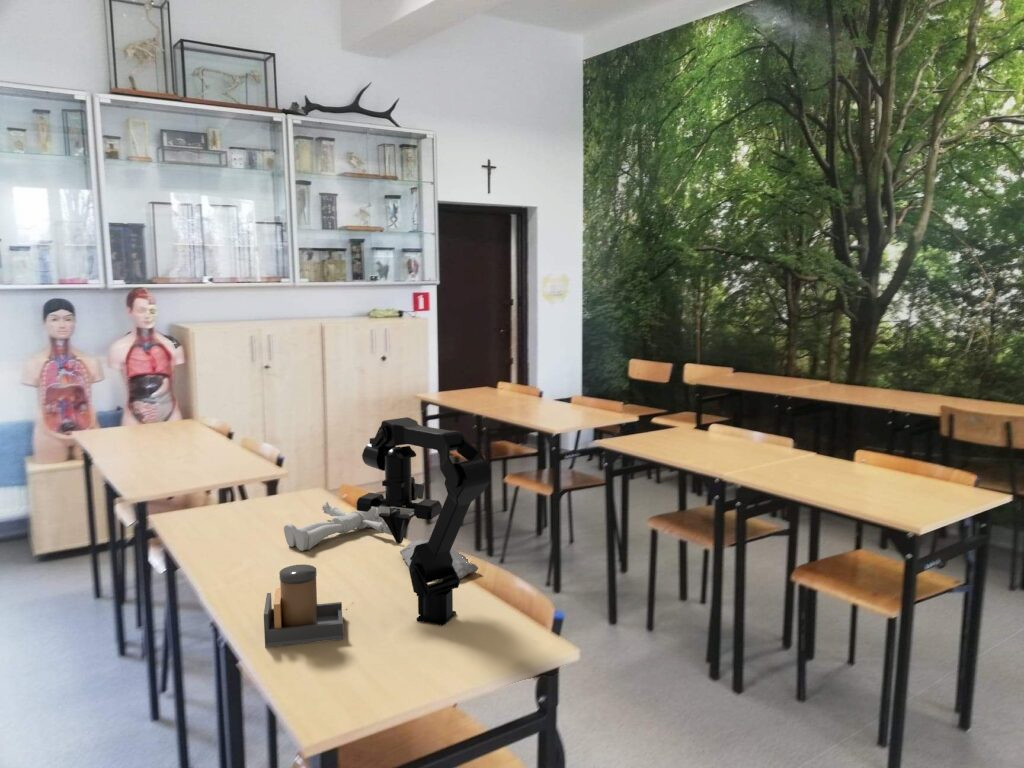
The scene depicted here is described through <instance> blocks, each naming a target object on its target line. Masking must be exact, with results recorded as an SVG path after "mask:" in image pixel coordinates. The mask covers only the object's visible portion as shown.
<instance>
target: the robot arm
mask: <svg viewBox="0 0 1024 768" xmlns="http://www.w3.org/2000/svg"><path fill="white" fill-rule="evenodd" d="M403 445H404V446H403ZM410 445H411V446H415V447H420V448H425V449H430V450H435V451H437V453H438V454H439V469H440V471H441V473H442V474H443V477H444V478H445V481H444V487H445V490H446V492H447V495H446V498H445V501H444V502H443V505H442V503H441V502H440V500H435V499H427V498H426V499H425V498H424V493H425V485H424V484H419V483H416V481H415V480H416V479H415V477H414V476H412V458H415V457H416V456H417V453H416V452H415V450H413V448H411V446H410ZM454 451H456V452H457V453H458V454H459V455H460V456H462V457H463V458H464V459H465V460H463V461H459V462H454V463H453V462H452V460H451V457H450V452H454ZM361 458H362V461H363V463H364V464H365V465H366V466H368V467H371V468H374V469H376V470H380V471H383V472H384V480H382V481H381V482H382V483H381V487H385V493H384V494H383V493H375V492H368V493H365V494H364V495H361V496H360V497H358V498H357V500H356V503H355V504H356V505H355V507H356V508H355V509H356V510H355V511H356V512H357V511H364V512H368V511H369V510H370V509H371V506H372V507H380V508H381V513H380V514H379V517H382V518H383V520H384V521H385V524H386V525H387V526H388V527H389V529H390V531H391V533H392V535H391V536H392V537H393V540H395V542H396V544H402V543H403V541H404V538H405V536H406V532H407V529H408V526H409V525H410V522H411V520H412V519H413V518H414V517H415V518H416V519H419V520H420V519H421V520H433V519H434V518H436V517H437V520H436V523H434V527H433V530H432V531H431V535H430V537H429V540H427V541H428V542H427V543H423V544H419V545H416V547H415V548H414V552H413V555H412V557H410V560H412V561H411V563H410V568H409V569H408V570H409V571H408V572H409V576H410V580H411V586H412V589H413V593H415V594H416V597H417V614H418V616H417V617H416V618H415V619H416V622H421V623H427V624H432V625H436V626H445V625H446V624H447V623H448V622H449V621H451V619H452V618H454V617H455V616H456V615H457V611H455V610H453V608H454V607H453V605H454V604H453V603H454V601H453V600H454V597H453V592H454V591H453V589H458V588H459V587H460V583H461V579H459V577H458V575H457V573H456V571H455V569H454V567H453V565H452V562H453V558H452V556H451V553H450V550H451V549H453V548H452V547H453V545H454V544H455V540H456V538H457V536H458V533H459V531H460V529H461V527H462V525H463V522H464V519H465V517H466V515H467V513H468V510H469V508H470V506H471V503H472V502H473V501H474V500H475V499H477V498H478V497H479V496H480V495H482V494H483V493H484V492H485V490H486V488H487V487H488V486H489V484H490V482H491V479H492V471H491V468H490V465H489V464H488V462H487V461H486V459H485V458H484V455H483V454H482V452H481V451H480V449H478V448H477V447H475V446H474V445H472V444H471V443H469V442H468V441H467V439H466V438H465V437H464V434H463V433H462V432H461V431H459V430H447V429H443V428H437V427H432V426H431V427H430V426H424V425H421V424H419V423H418V421H417V420H416V419H414V418H411V417H408V416H406V417H399V418H392V419H385V420H382V421H381V423H380V426H379V428H378V430H377V431H376V434H375V437H371V438H370V437H369V443H367V445H366V446H365V447H364V449H363V452H362V454H361ZM384 495H385V496H384ZM418 499H420V500H421V501H420V502H412V501H417V500H418Z"/></svg>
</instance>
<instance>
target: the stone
mask: <svg viewBox="0 0 1024 768" xmlns="http://www.w3.org/2000/svg"><path fill="white" fill-rule="evenodd" d="M428 541H429V540H425V539H415V540H413V541H411V542H410V543H408V544H407V545H406V546H405V547H404V548H402V549H400V550H399V553H400V556H401V557H402V559H403V560H404V562H405V564H406V565H407V567H408V568H409V569H410V563H411V561H412V560H410V557H412V555H413V552H414V548H415V547H416V545H419V544H423V543H427V542H428ZM450 553H451V556H452V558H453V562H452V565H453V567H454V569H455V571H456V573H457V575H458V577H459V579H460V580H461V579H463V578H464V577H465V576H467V575H469V574H473V573H475V572H477V571H478V570H479V567H478V565H476V564H474V563H472V562H470V563H469V562H468V559H466V557H467V556H466V555H464V554H462V553H460V552H459V551H458V550H456V549H455V548H454V549H453V548H451V550H450ZM459 553H460V554H459ZM465 556H466V557H465ZM462 557H463V558H462ZM466 562H467V563H466Z"/></svg>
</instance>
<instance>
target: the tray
mask: <svg viewBox="0 0 1024 768" xmlns="http://www.w3.org/2000/svg"><path fill="white" fill-rule="evenodd" d="M342 604H343V603H342V602H340V601H339V602H338V601H337V602H336V601H335V602H328V603H319V604H318V603H317V615H318V624H315V625H306V626H296V627H286V628H276V629H275V625H274V608H273V607H272V606H273V605H272V592H266V597H265V604H264V609H263V628H264V629H263V630H264V646H265V647H264V648H273V647H281V646H282V647H283V646H291V645H301V644H302V645H303V644H312V643H320V642H329V641H337V640H338V641H339V640H344V622H343V609H342V608H343V607H342V606H343V605H342Z"/></svg>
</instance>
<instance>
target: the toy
mask: <svg viewBox="0 0 1024 768" xmlns="http://www.w3.org/2000/svg"><path fill="white" fill-rule="evenodd" d="M321 509H322V511H323V513H324V514H325V515H329V516H331V517H334V518H332V519H331V521H317V522H313V523H310V524H307V525H304V526H301V527H296V525H294V524H293V523H288V524H286V525H284V527H283V533H284V537H285V542H286V543H287V545H288V547H293V548H294V547H296V548H297V549H298V550H299V551H300V552H303V551H309V550H311V549H312V548H314V547H315V546H316V545H317V544H318V543H320V542H321V541H322V540H324V539H325V538H329V536H332V535H335V534H337V533H338V534H340V535H341V534H346V533H348V532H350V531H352V530H354V529H360V530H362V529H366V528H365V527H367V528H368V529H369V528H373V529H375V530H377V531H378V532H379V533H382V534H386V535H390V536H393V535H392V533H391V531H390V529H389V527H388V526H387V524H386V523H385V521H384V520H383V518H382V517H379V514H380V513H381V508H380V507H372V506H371V509H370V510H369V511H368V512H364V511H357V510H355V511H354V510H352V511H351V512H350V513H346V512H345V511H343V510H340V509H339V507H336V506H330V505H329V502H328V501H326V502H325V504H322V506H321Z"/></svg>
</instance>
